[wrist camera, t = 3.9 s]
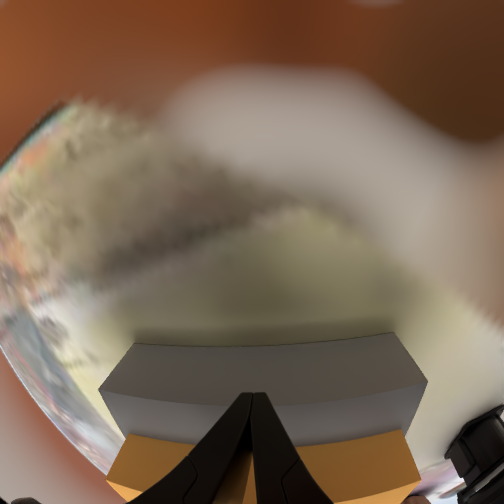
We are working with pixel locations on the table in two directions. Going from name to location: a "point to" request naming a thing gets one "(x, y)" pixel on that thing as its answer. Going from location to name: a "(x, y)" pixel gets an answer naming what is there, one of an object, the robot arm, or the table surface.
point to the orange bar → (314, 457)
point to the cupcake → (416, 500)
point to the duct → (268, 388)
